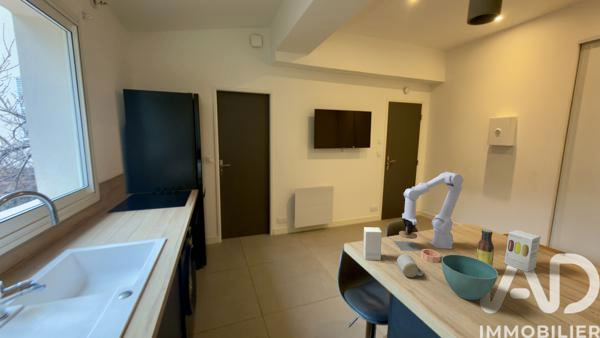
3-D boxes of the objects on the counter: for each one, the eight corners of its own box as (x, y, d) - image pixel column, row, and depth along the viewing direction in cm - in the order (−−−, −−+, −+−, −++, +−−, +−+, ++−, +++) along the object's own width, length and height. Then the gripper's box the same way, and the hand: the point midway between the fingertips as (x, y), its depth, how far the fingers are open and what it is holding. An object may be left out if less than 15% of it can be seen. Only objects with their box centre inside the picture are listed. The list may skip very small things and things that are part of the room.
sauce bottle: (494, 274, 109) (499, 234, 106) (479, 273, 110) (484, 232, 108) (486, 267, 115) (491, 228, 113) (472, 265, 116) (476, 227, 114)
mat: (412, 242, 143) (412, 241, 143) (422, 251, 131) (422, 250, 131) (393, 241, 143) (393, 241, 143) (401, 251, 131) (401, 250, 131)
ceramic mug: (402, 278, 105) (404, 262, 104) (395, 268, 113) (397, 253, 112) (426, 279, 104) (428, 263, 104) (418, 269, 113) (419, 254, 112)
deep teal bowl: (470, 313, 84) (473, 282, 82) (429, 283, 101) (431, 257, 100) (505, 304, 89) (510, 274, 87) (461, 277, 106) (463, 252, 105)
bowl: (434, 254, 127) (434, 249, 127) (443, 263, 118) (444, 257, 118) (417, 254, 127) (418, 248, 127) (426, 262, 118) (426, 257, 118)
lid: (412, 232, 141) (413, 224, 140) (420, 239, 131) (421, 230, 130) (396, 231, 141) (397, 224, 140) (403, 238, 131) (403, 230, 131)
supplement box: (503, 263, 119) (507, 231, 117) (511, 259, 124) (516, 229, 122) (528, 272, 111) (533, 239, 109) (536, 268, 115) (541, 235, 113)
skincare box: (378, 254, 126) (379, 227, 124) (381, 261, 119) (382, 232, 118) (362, 253, 127) (363, 226, 125) (364, 260, 120) (365, 231, 118)
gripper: (397, 205, 141) (396, 227, 143) (408, 213, 127) (406, 237, 128) (409, 206, 141) (408, 227, 143) (421, 213, 127) (419, 237, 128)
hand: (408, 232), depth 136 cm, fingers closed on lid, 3 cm apart
